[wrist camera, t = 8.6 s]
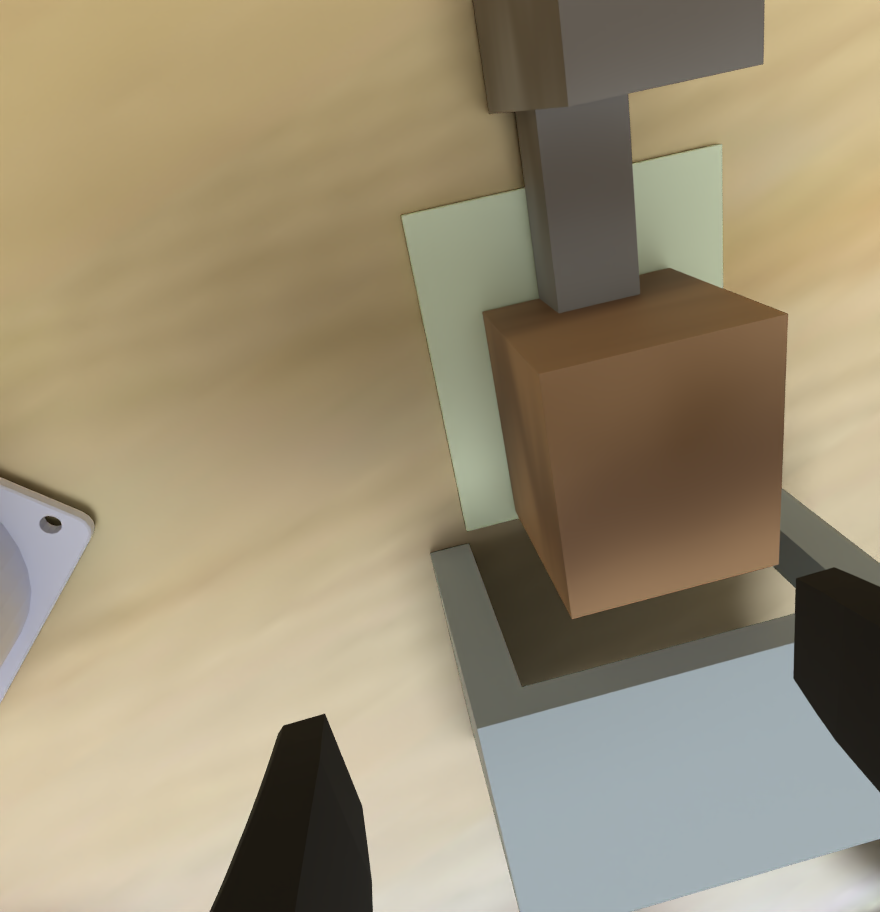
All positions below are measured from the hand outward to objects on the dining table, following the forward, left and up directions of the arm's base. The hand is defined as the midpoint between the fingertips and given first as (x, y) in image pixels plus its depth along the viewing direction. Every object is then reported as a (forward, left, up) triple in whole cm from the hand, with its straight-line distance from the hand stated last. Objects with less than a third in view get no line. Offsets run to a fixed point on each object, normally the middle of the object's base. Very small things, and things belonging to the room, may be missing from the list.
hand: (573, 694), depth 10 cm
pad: (+2, +4, -10) cm, 11 cm away
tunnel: (+8, -3, -10) cm, 13 cm away
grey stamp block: (0, +5, -10) cm, 11 cm away
